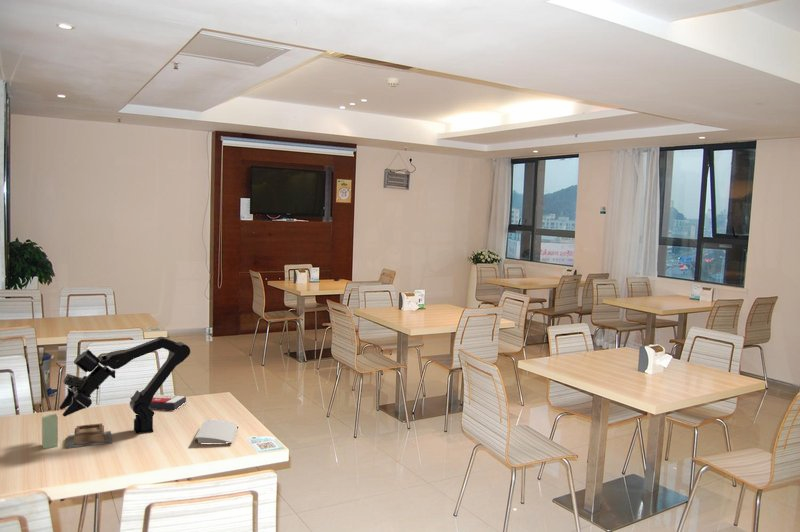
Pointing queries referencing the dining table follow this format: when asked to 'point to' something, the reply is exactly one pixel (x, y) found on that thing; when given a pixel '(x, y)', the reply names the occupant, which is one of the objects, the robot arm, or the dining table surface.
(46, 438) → the pillar
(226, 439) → the book
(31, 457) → the dining table surface
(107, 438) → the base socket
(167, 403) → the grey and red box
